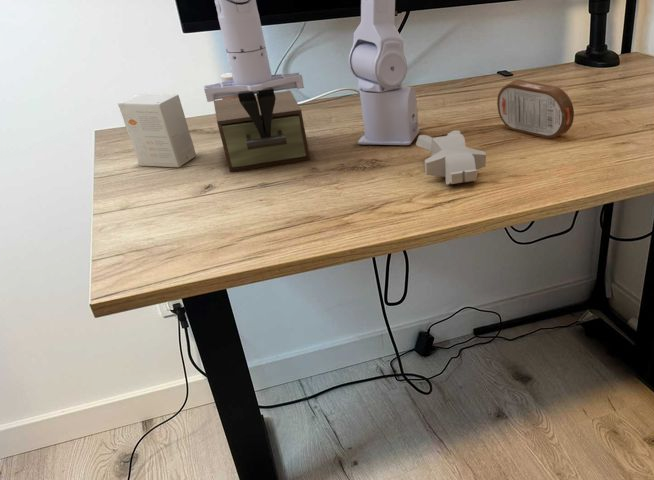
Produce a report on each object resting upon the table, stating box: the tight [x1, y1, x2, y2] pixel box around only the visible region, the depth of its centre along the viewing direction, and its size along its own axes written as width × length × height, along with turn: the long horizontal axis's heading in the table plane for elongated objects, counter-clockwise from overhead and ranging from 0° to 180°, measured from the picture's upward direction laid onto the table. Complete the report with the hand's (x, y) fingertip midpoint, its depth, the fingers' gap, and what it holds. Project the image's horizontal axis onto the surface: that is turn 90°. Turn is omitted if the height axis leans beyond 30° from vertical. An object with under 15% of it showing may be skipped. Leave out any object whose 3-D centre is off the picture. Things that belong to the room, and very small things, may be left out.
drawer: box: [222, 114, 306, 167], centre depth 108 cm, size 17×12×7 cm
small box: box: [117, 93, 197, 168], centre depth 109 cm, size 8×6×10 cm
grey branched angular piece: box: [415, 130, 487, 186], centre depth 101 cm, size 10×5×15 cm
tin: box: [496, 79, 575, 140], centre depth 113 cm, size 15×3×8 cm, turn 47°
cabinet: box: [213, 90, 311, 173], centre depth 111 cm, size 13×13×8 cm
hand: (266, 141), depth 104 cm, fingers closed, pressing on drawer
